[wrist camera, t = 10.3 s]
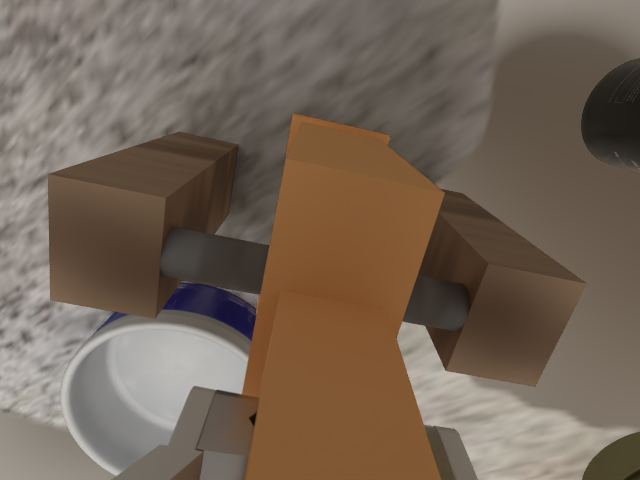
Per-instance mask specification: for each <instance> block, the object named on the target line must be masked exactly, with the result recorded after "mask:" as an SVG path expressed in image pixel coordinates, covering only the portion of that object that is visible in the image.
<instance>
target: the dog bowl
mask: <svg viewBox="0 0 640 480" xmlns="http://www.w3.org/2000/svg"><path fill="white" fill-rule="evenodd" d="M256 315H257V314H256V310H255V309H254V308H253V307H252V306H250V305H249V304H248V303H246V302H245V301H243V300H241V299H240V298H238V297H236V296H234V295H232V294H230V293H228V292H226V291H223V290H220V289H217V288H214V287H210V286H205V285H199V284H187V283H186V284H179V286H178V287H177V289H176V290H175V291H174V293H173V294H172V296H171V297H170V299H169V300H168V302H167V303H166V304H165V306H164V307H163V309H162V310H161V312H160V313H159V314H158V316H157V317H156V319H153V318H147V317H142V316H136V315H130V314H125V313H119V312H115V313H114V314H113V315H112V316H111V317H110V318H109V319H108V320H107V321H106V322H105V323H104V324H103V325H102V326H101V327H100V328H99V329H98V330H97V331H96V332H95V333H94V334H93V335H92V336H91V338H90V339H88V340H87V341H86V342H85V343H84V344H83V345H82V347H81V348H80V349H79V350H78V351H77V353H76V354H75V355H74V356H73V358H72V359H71V361H70V362H69V364H68V366H67V368H66V370H65V373H64V376H63V379H62V383H61V391H60V400H61V408H62V412H63V416H64V419H65V422H66V424H67V426H68V428H69V431H70V433H71V434H72V436H73V437H74V439H75V440H76V442H77V443H78V444H79V446H80V447H81V448H82V449H83V450H84V452H85V453H86V454H87V455H88V456H89V457H91V458H92V459H93V460H94V461H95V462H96V463H97V464H99V465H100V466H101V467H102V468H104V469H106V470H107V471H109V472H110V473H112V474H114V475H116V476H117V475H118V474H120V473H121V472H123V471H124V470H125V469H127V468H128V467H129V466H131V465H132V464H134V463H135V462H136V461H138V460H139V459H141V458H142V457H143V456H145V455H146V454H148V453H149V452H150V451H152V450H153V449H155V448H156V447H157V446H159V445H166V446H167V445H168V443H169V440H170V438H171V435H172V433H173V431H174V428H175V426H176V424H177V421H178V419H179V416H180V414H181V412H182V409H183V407H184V404H185V402H186V400H187V397H188V395H189V393H190V390H191V389H192V388H193V386H199V387H204V388H209V389H214V390H222V391H227V392H232V393H238V394H242V390H243V385H244V380H245V374H246V369H247V363H248V358H249V353H250V347H251V342H252V337H253V331H254V326H255V321H256Z"/></svg>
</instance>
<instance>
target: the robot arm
mask: <svg viewBox="0 0 640 480" xmlns="http://www.w3.org/2000/svg"><path fill="white" fill-rule="evenodd" d="M258 404H259V397H253V396H248V395H243V394H238V393H232V392H227V391H222V390H214V389H209V388H204V387H199V386H193V388H192V389H191V390H190V393H189V395H188V397H187V400H186V402H185V404H184V407H183V409H182V412H181V414H180V416H179V419H178V421H177V424H176V426H175V428H174V431H173V433H172V435H171V438H170V440H169V443H168V445H167V446H166V445H159V446H157V447H156V448H155V449H153V450H152V451H150V452H149V453H148V454H146V455H145V456H143V457H142V458H141V459H139V460H138V461H136V462H135V463H134V464H132V465H131V466H129V467H128V468H127V469H125V470H124V471H123V472H121V473H120V474H118V475H117V476H116V477H114V478H113V479H111V480H244V477H245V473H246V468H247V463H248V458H249V453H250V448H251V442H252V437H253V431H254V424H255V419H256V415H257V410H258ZM424 427H425V431H426V434H427V437H428V440H429V443H430V446H431V449H432V453H433V456H434V459H435V462H436V465H437V468H438V472H439V475H440V478H441V480H478V478H477V476H476V473H475V471H474V469H473V466H472V464H471V462H470V459H469V457H468V454H467V452H466V450H465V447H464V445H463V443H462V440H461V438H460V435H459V433H458V432H457V431H456V430H455V429H451V428H444V427H438V426H429V425H424Z"/></svg>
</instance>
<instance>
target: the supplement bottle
mask: <svg viewBox="0 0 640 480" xmlns="http://www.w3.org/2000/svg"><path fill="white" fill-rule="evenodd" d="M581 130H582V136H583V140H584V142H585V144H586V146H587V148H588V150H589V151H590V152H591V153H592V154H593V155H594V156H595V157H596V158H598V159H599V160H601V161H603V162H605V163H608V164H610V165H613V166H617V167H620V168H624V169H628V170H632V171H635V172H639V173H640V58H639V59H635V60H631V61H629V62H626V63H624V64H622V65H620V66H618V67H617V68H615V69H614V70H612V71H611V72H610V73H608V74H607V75H606V76H605V77H604V78H603V79H602V80H601V81H600V82H599V83H598V84H597V86H596V87H595V88H594V90H593V91H592V93H591V94H590V96H589V98H588V100H587V102H586V104H585V107H584V110H583V114H582V122H581Z"/></svg>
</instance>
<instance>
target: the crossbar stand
mask: <svg viewBox="0 0 640 480" xmlns="http://www.w3.org/2000/svg"><path fill="white" fill-rule="evenodd" d="M237 150H238V145H237V144H232V143H227V142H223V141H218V140H214V139H209V138H204V137H200V136H195V135H191V134H186V133H181V132H177V133H174V134H171V135H167V136H164V137H161V138H158V139H155V140H152V141H149V142H146V143H143V144H140V145H136V146H133V147H130V148H127V149H124V150H121V151H118V152H115V153H112V154H109V155H105V156H102V157H99V158H96V159H93V160H90V161H87V162H84V163H81V164H78V165H74V166H71V167H68V168H65V169H62V170H59V171H56V172H53V173H50V174H48V205H49V257H50V300H52V301H58V302H63V303H69V304H74V305H80V306H86V307H91V308H97V309H102V310H108V311H114V312H119V313H125V314H130V315H136V316H142V317H147V318H153V319H156V317H157V316H158V314H159V313H160V312H161V310H162V309H163V307H164V306H165V304H166V303H167V302H168V300H169V299H170V297H171V296H172V294H173V293H174V291H175V290H176V289H177V287H178V286H179V284H180V283H181V281H182V280H184V281H189V282H194V283H200V284H205V285H211V286H216V287H221V288H227V289H232V290H237V291H243V292H248V293H253V294H259V295H260V294H261V288H262V283H263V278H264V272H265V267H266V262H267V256H268V251H269V245H264V244H258V243H253V242H248V241H243V240H238V239H233V238H228V237H223V236H218V235H214V234H215V233H216V231H217V230H218V228H219V227H220V225H221V224H222V222H223V221H224V220H225V218H226V217H227V215H228V212H229V205H230V199H231V192H232V185H233V178H234V171H235V164H236V157H237ZM441 190H442V191H443V192H445V194H444V197H443V200H442V203H441V206H440V209H439V212H438V215H437V218H436V221H435V224H434V227H433V230H432V233H431V236H430V239H429V242H428V245H427V248H426V251H425V254H424V257H423V260H422V263H421V266H420V269H419V272H418V275H417V278H416V281H415V284H414V287H413V290H412V293H411V296H410V299H409V302H408V305H407V308H406V311H405V314H404V317H403V320H402V321H403V322H408V323H413V324H419V325H424V326H426V328H427V331H428V333H429V335H430V337H431V339H432V342H433V344H434V346H435V348H436V350H437V352H438V355H439V357H440V359H441V361H442V363H443V366H444V368H445V370H446V371H450V372H456V373H461V374H467V375H472V376H478V377H484V378H489V379H495V380H500V381H506V382H512V383H517V384H523V385H528V386H534V387H535V386H536V384H537V382H538V380H539V378H540V376H541V374H542V372H543V370H544V368H545V366H546V364H547V362H548V360H549V358H550V356H551V354H552V352H553V350H554V348H555V346H556V344H557V342H558V340H559V338H560V336H561V334H562V332H563V330H564V328H565V326H566V324H567V322H568V320H569V318H570V316H571V314H572V312H573V310H574V308H575V306H576V304H577V302H578V300H579V298H580V296H581V294H582V292H583V290H584V288H585V287H586V283H585V282H584V281H583V280H581V279H580V278H578V277H577V276H576V275H574V274H573V273H572V272H570V271H568V270H567V269H566V268H565V267H563V266H562V265H560V264H559V263H558V262H556V261H555V260H553V259H552V258H551V257H549V256H548V255H547V254H545V253H544V252H543V251H541V250H539V249H538V248H537V247H536V246H534V245H533V244H531V243H530V242H529V241H527V240H526V239H525V238H523V237H522V236H521V235H519V234H518V233H516V232H515V231H514V230H512V229H511V228H509V227H508V226H507V225H505V224H504V223H503V222H501V221H500V220H499V219H497V218H496V217H494V216H493V215H491V214H490V213H489V212H487V211H486V210H485V209H483V208H482V207H481V206H479V205H478V204H476V203H475V202H474V201H472V200H471V199H470V198H468V197H467V196H465V195H464V194H462V193H457V192H453V191H448V190H444V189H441Z"/></svg>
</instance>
